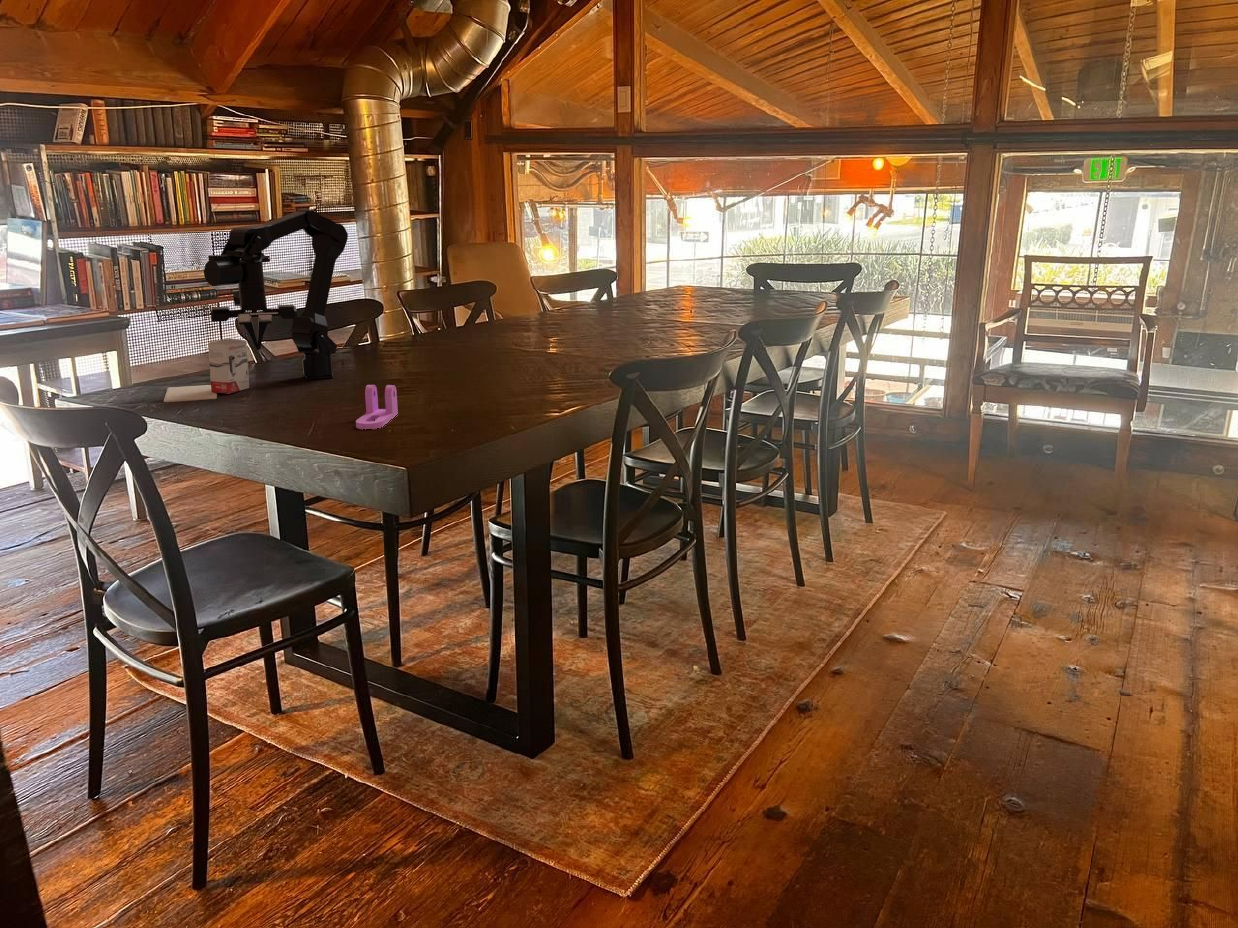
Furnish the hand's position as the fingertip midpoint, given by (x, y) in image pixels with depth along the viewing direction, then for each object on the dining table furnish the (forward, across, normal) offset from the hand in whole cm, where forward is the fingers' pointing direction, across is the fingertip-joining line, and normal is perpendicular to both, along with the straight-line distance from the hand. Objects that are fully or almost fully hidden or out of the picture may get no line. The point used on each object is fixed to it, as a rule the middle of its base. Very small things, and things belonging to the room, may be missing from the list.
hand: (258, 349), depth 221 cm
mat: (+10, +16, 0) cm, 18 cm away
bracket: (+10, -21, +43) cm, 49 cm away
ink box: (+10, +7, 0) cm, 12 cm away
